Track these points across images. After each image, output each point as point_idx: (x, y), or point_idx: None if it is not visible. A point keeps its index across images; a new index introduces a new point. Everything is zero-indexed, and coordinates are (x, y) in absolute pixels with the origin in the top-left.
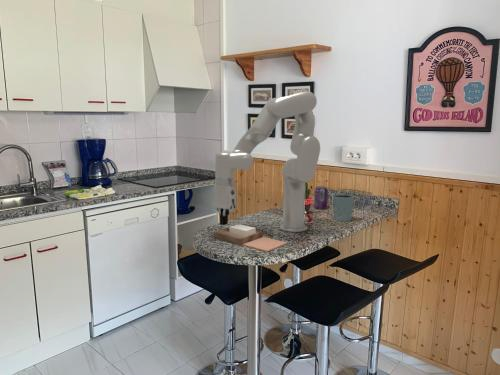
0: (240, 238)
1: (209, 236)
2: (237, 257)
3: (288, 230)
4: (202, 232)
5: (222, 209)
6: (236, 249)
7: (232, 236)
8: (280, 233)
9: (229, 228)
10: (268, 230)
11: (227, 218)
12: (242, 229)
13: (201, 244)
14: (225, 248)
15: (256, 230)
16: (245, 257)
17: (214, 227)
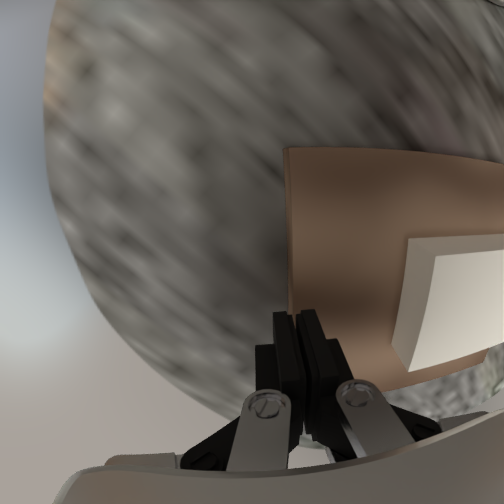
0: (481, 355)
1: (243, 373)
2: (482, 402)
3: (501, 4)
4: (139, 347)
5: (247, 462)
6: (466, 377)
7: (439, 370)
8: (499, 41)
9: (319, 274)
10: (431, 7)
11: (347, 367)
12: (497, 336)
13: (314, 442)
14: (427, 402)
15: (499, 167)
16: (500, 385)
17: (80, 211)
